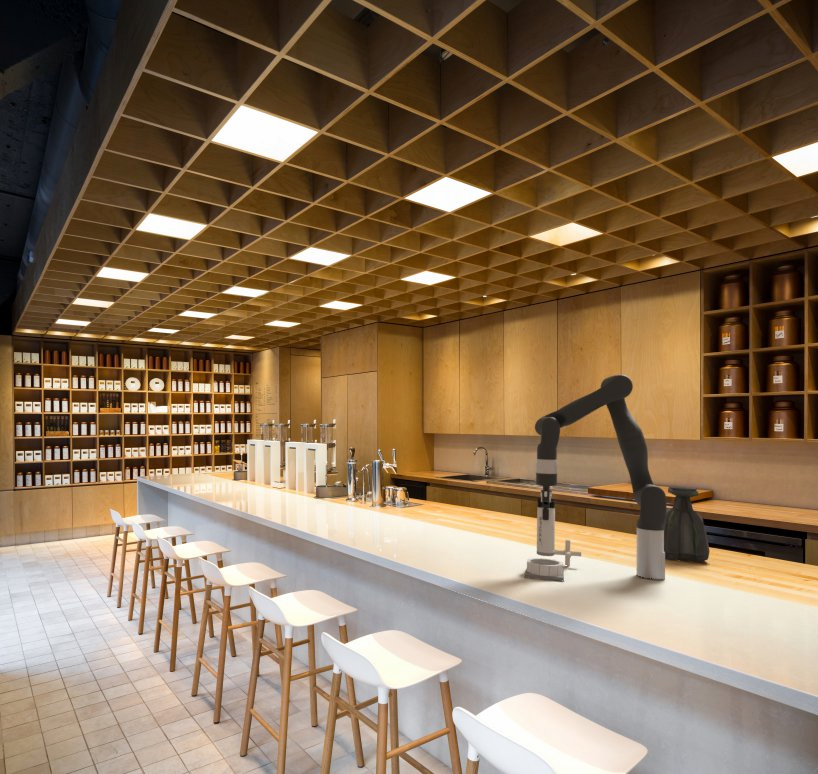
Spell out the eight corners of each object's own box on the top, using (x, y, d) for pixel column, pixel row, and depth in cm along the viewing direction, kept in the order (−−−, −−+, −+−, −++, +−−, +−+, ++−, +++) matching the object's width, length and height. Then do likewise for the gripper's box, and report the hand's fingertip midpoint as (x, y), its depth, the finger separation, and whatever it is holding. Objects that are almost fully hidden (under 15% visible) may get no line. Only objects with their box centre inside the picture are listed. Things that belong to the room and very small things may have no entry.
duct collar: (563, 573, 211) (563, 560, 212) (563, 581, 198) (563, 567, 199) (527, 569, 215) (527, 556, 215) (524, 577, 202) (524, 563, 202)
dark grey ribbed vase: (664, 560, 242) (664, 488, 244) (656, 553, 258) (657, 485, 260) (711, 564, 238) (710, 490, 240) (700, 556, 253) (700, 487, 256)
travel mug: (551, 552, 211) (552, 497, 212) (556, 556, 204) (557, 499, 206) (534, 552, 210) (535, 496, 212) (539, 556, 204) (539, 498, 206)
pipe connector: (582, 570, 217) (582, 543, 218) (554, 568, 219) (555, 541, 220) (579, 564, 227) (580, 538, 227) (553, 562, 229) (554, 537, 229)
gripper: (557, 473, 202) (556, 522, 200) (557, 471, 216) (556, 517, 214) (535, 472, 204) (534, 520, 202) (536, 470, 218) (536, 515, 216)
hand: (545, 518), depth 208 cm, fingers closed on travel mug, 6 cm apart
